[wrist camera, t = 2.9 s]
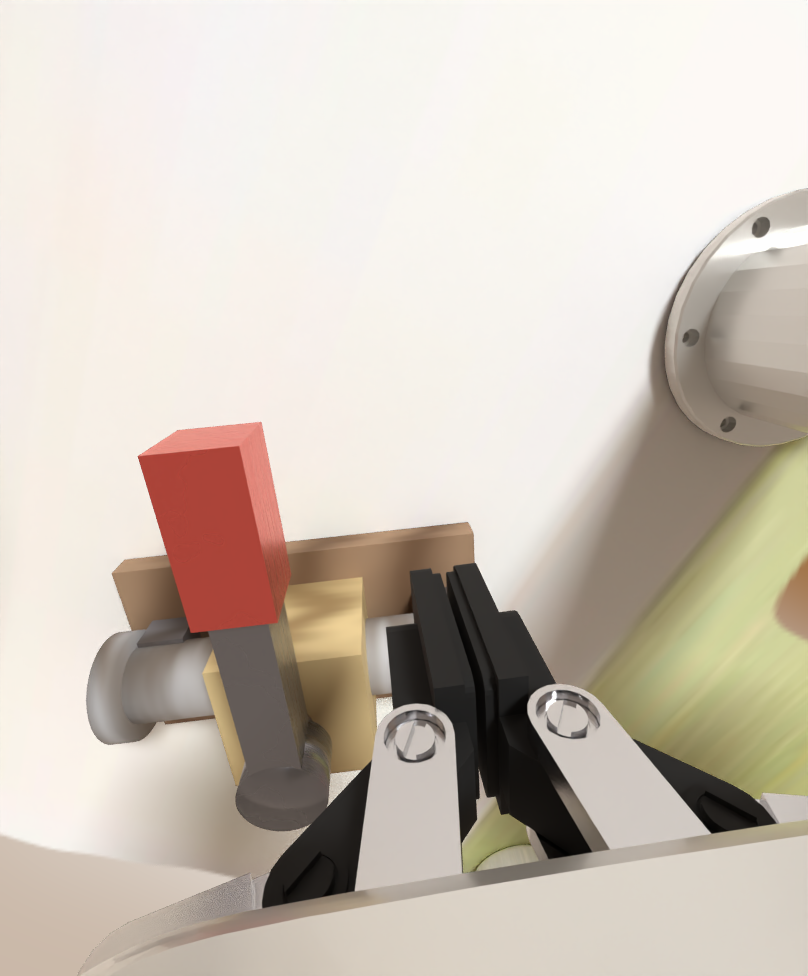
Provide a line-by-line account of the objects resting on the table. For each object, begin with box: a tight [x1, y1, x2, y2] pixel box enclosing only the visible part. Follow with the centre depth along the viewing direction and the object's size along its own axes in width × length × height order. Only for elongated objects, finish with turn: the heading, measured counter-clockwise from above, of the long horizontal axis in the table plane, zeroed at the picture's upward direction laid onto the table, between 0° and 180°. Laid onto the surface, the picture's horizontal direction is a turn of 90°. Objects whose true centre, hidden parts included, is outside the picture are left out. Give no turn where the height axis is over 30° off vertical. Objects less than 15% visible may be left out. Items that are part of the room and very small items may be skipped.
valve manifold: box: [86, 522, 475, 786], centre depth 25 cm, size 20×11×9 cm, turn 95°
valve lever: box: [138, 422, 332, 831], centre depth 18 cm, size 16×4×3 cm, turn 5°
